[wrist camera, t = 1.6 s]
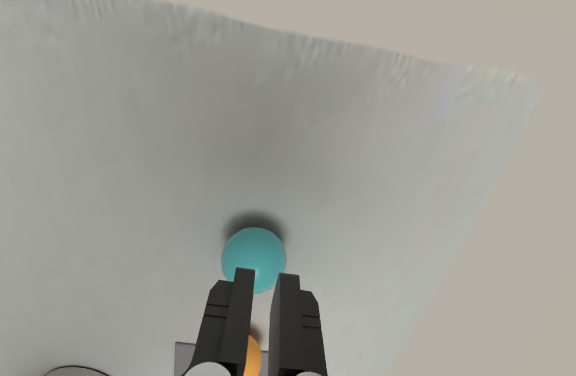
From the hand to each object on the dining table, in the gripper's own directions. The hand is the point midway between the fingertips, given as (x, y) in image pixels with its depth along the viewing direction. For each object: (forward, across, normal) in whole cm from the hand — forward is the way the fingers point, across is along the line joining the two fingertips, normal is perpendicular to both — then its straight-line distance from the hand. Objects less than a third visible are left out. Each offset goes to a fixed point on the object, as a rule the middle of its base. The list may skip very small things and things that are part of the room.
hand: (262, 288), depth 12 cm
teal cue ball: (+12, 0, +10) cm, 16 cm away
